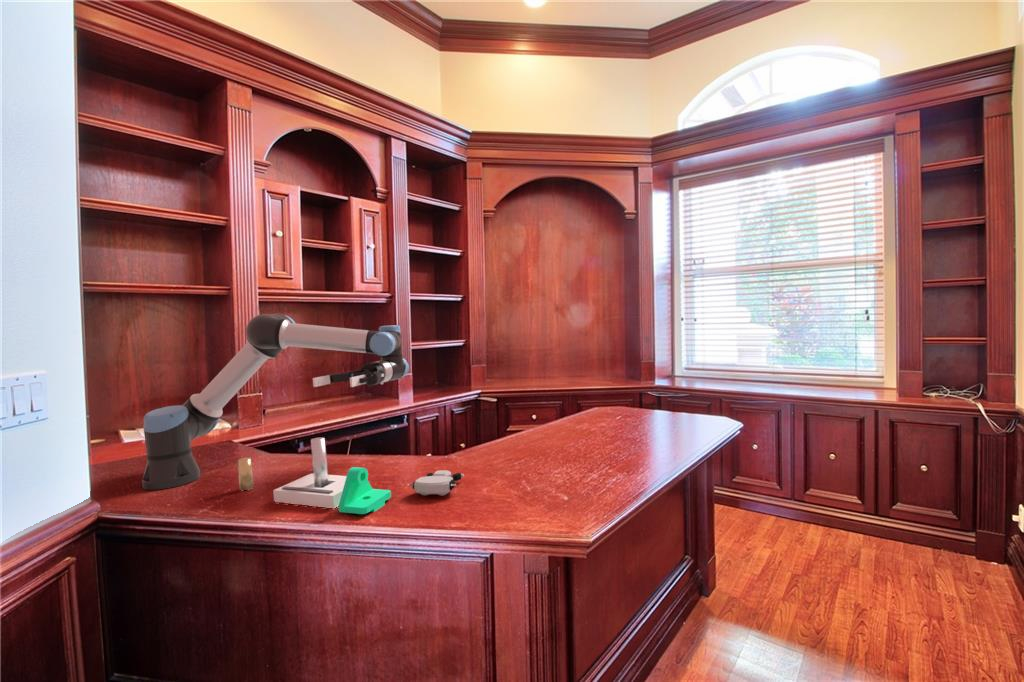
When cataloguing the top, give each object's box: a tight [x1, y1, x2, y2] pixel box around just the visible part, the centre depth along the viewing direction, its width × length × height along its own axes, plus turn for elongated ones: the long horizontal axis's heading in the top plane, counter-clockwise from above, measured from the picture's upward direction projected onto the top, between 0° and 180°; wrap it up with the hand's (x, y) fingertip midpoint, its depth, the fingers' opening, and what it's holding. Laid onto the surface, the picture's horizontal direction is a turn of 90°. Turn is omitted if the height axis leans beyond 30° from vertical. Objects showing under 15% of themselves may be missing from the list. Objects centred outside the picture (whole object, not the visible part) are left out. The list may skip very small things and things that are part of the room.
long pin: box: [310, 436, 329, 488], centre depth 134 cm, size 4×4×16 cm
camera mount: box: [338, 466, 392, 515], centre depth 124 cm, size 12×8×10 cm, turn 161°
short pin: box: [236, 456, 255, 491], centre depth 144 cm, size 4×4×9 cm
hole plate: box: [272, 472, 369, 510], centre depth 134 cm, size 20×14×4 cm
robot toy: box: [407, 469, 465, 497], centre depth 134 cm, size 12×4×15 cm
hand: (332, 382), depth 144 cm, fingers open, 13 cm apart
